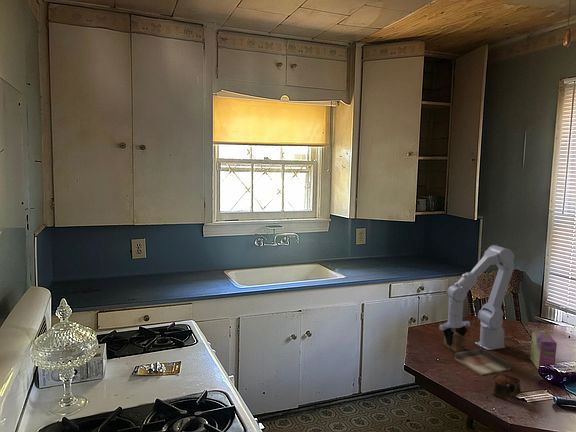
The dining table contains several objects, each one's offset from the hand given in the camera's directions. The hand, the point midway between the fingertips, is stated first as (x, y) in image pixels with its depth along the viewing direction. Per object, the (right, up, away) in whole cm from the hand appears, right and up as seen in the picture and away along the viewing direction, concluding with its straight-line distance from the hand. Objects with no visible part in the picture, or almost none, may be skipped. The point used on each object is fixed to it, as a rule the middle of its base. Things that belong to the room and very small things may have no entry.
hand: (454, 344), depth 195 cm
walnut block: (0, -2, 0) cm, 2 cm away
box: (+29, -4, -16) cm, 33 cm away
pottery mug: (+4, -7, -39) cm, 40 cm away
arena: (+5, -4, -15) cm, 17 cm away
